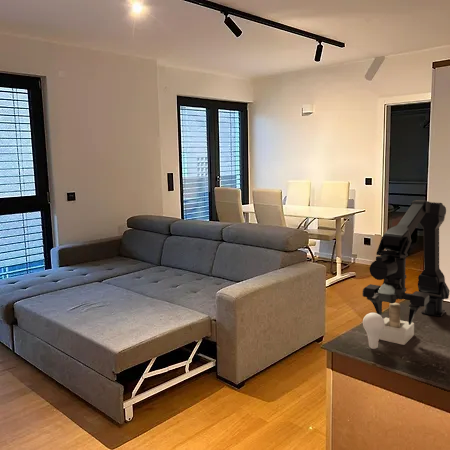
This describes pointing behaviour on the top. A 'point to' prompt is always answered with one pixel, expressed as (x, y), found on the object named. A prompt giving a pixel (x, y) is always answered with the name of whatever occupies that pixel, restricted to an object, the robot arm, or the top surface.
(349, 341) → the top surface
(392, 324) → the dowel
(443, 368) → the top surface
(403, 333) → the socket
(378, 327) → the lightbulb
